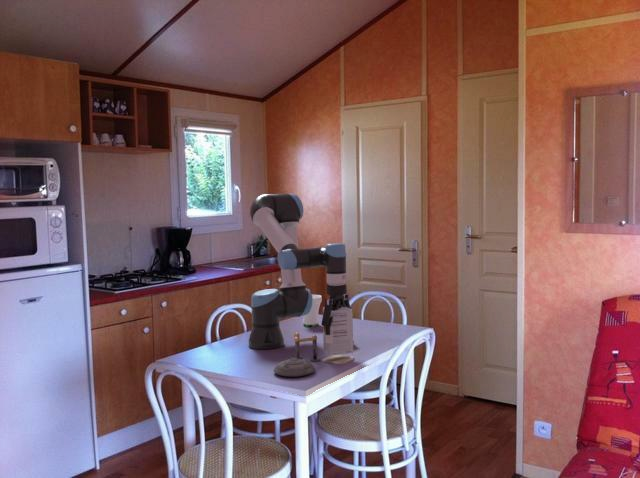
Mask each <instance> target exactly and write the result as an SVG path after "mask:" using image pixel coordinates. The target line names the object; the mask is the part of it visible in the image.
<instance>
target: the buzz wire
mask: <svg viewBox="0 0 640 478" xmlns="http://www.w3.org/2000/svg"><path fill="white" fill-rule="evenodd" d="M317 340H318V336H317V335H316V334H314V335H312V336H311V337H307V338H306V337H305V338H300V333H298V332H295V333H294V343H295V345H294V348H295V350H294V351H295V355H293V356H292V358H298V359H303V356H302V355H300V354H301V353H300V351H301V350H300V349H301V347H300V343H304V342H305V343H306V342H312V357H311V358H310V361H311V363H314V362H320V360H321V359H320V358H319V357H318V342H317ZM310 361H309V362H310Z"/></svg>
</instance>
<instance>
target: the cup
mask: <svg viewBox="0 0 640 478" xmlns="http://www.w3.org/2000/svg"><path fill="white" fill-rule="evenodd" d="M312 299H313V302H312V308H311V310H310V312H309V313H308V314H307V315H304V316H302V317H303V319H302V324H303V326H304V327H307V328H308V327H310V326H311V327H313V328H314V327H316V326H319V323H320V319H319V309H320V306H321V303H322V301H323V298H322V295H320V294H312Z"/></svg>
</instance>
